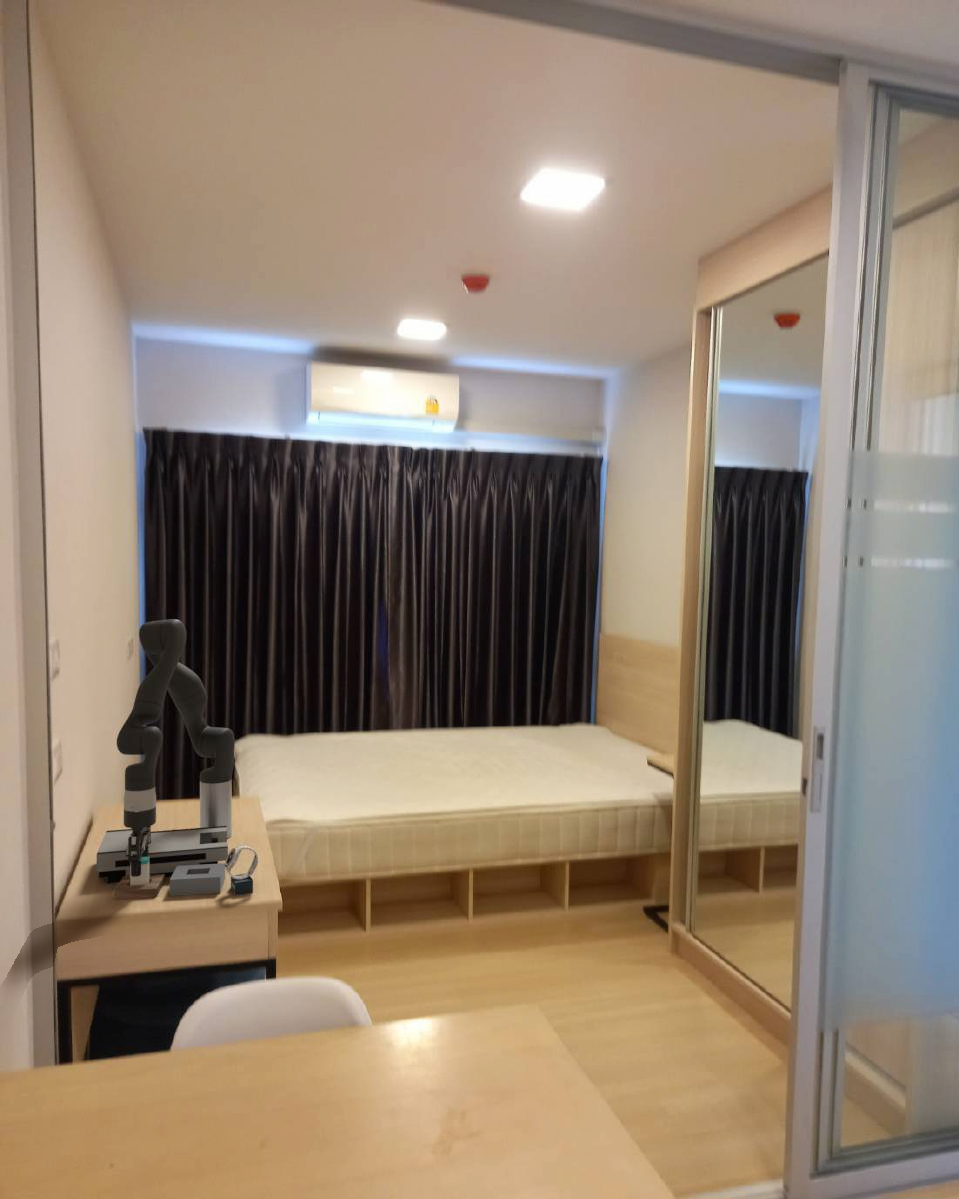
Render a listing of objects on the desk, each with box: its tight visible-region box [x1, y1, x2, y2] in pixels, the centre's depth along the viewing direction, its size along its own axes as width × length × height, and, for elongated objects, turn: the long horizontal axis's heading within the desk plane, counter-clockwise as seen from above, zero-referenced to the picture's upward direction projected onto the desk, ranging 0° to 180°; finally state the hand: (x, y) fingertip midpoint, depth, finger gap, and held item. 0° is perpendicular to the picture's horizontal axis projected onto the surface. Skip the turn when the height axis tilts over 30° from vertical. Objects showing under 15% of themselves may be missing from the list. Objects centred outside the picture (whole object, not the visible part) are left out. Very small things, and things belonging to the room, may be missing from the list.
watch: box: [224, 844, 259, 896], centre depth 206 cm, size 6×8×11 cm
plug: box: [130, 857, 149, 886], centre depth 205 cm, size 3×4×8 cm, turn 101°
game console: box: [96, 826, 229, 884], centre depth 223 cm, size 21×32×8 cm, turn 108°
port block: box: [169, 862, 226, 897], centre depth 208 cm, size 10×12×4 cm
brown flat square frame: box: [113, 874, 166, 900], centre depth 205 cm, size 10×10×2 cm
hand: (139, 870), depth 205 cm, fingers open, 8 cm apart
